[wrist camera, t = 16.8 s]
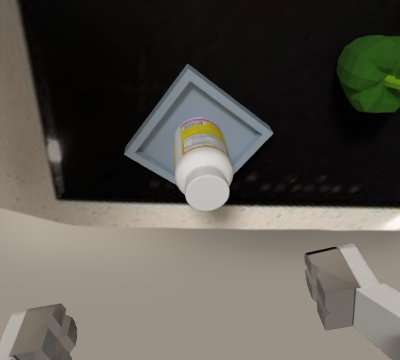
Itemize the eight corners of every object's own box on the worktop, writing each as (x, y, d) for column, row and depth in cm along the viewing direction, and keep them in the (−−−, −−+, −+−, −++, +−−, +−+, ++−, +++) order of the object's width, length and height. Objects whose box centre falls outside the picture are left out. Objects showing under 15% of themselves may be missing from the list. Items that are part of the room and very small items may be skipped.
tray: (125, 146, 48) (124, 154, 46) (187, 63, 42) (188, 68, 40) (205, 194, 53) (206, 202, 52) (269, 126, 48) (273, 133, 46)
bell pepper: (317, 92, 45) (350, 125, 37) (337, 23, 41) (380, 44, 33) (377, 96, 46) (423, 129, 38) (403, 30, 42) (461, 51, 34)
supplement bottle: (204, 166, 50) (214, 227, 39) (164, 145, 47) (163, 204, 37) (232, 130, 47) (251, 185, 36) (190, 105, 44) (197, 156, 34)
